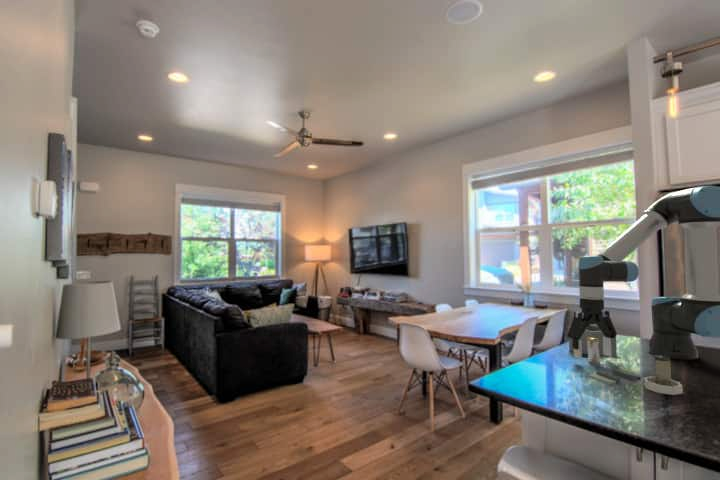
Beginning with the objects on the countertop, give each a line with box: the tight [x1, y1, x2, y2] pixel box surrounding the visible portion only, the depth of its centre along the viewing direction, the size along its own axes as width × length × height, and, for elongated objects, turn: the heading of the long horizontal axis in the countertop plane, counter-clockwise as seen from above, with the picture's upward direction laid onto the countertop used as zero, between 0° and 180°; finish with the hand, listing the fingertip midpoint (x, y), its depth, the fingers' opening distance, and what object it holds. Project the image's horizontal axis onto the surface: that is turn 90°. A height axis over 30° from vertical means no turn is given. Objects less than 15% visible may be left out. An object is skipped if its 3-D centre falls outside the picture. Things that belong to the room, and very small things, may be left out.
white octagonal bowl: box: [643, 375, 684, 396], centre depth 105 cm, size 8×8×4 cm
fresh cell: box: [587, 337, 601, 365], centre depth 132 cm, size 4×4×10 cm
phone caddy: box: [568, 324, 618, 357], centre depth 149 cm, size 12×12×10 cm
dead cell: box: [653, 354, 672, 386], centre depth 106 cm, size 4×4×10 cm
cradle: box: [585, 368, 644, 387], centre depth 115 cm, size 14×10×3 cm
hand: (592, 356), depth 132 cm, fingers open, 13 cm apart
